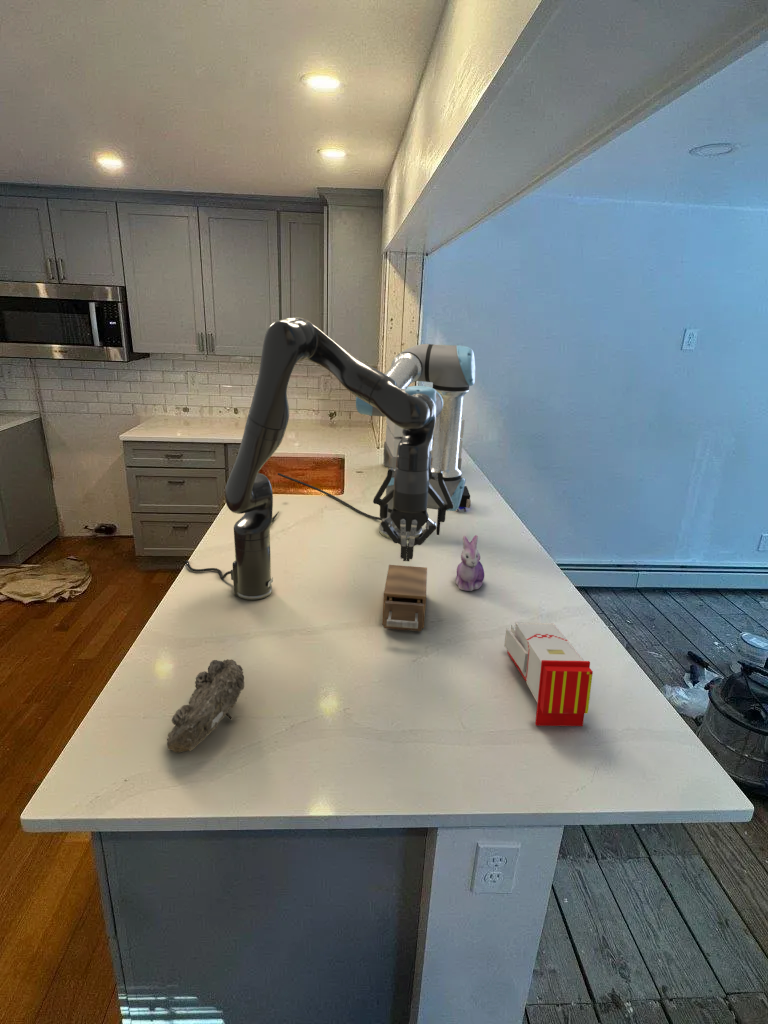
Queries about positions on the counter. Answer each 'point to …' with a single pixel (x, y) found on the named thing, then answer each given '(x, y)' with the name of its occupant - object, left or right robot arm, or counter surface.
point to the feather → (274, 517)
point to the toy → (551, 672)
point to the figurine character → (465, 500)
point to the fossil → (206, 705)
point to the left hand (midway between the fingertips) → (406, 560)
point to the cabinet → (406, 585)
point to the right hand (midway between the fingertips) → (411, 531)
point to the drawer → (403, 614)
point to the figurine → (470, 566)
